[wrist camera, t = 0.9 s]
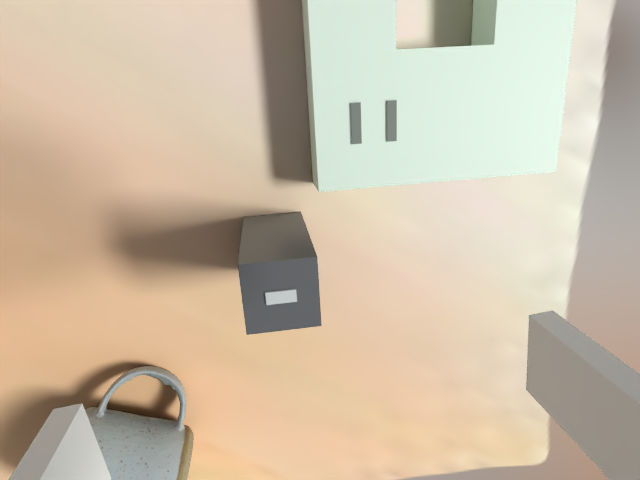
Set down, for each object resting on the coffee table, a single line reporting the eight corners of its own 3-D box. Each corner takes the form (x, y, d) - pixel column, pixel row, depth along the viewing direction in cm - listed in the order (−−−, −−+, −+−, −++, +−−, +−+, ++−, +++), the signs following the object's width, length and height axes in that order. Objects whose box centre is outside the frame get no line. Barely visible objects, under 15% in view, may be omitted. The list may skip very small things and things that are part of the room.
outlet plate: (313, 182, 30) (318, 192, 27) (295, -94, 25) (300, -119, 22) (529, 164, 32) (556, 172, 29) (556, -97, 26) (592, -121, 24)
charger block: (249, 270, 31) (246, 335, 23) (243, 216, 30) (237, 265, 22) (304, 264, 32) (321, 326, 23) (300, 211, 31) (317, 257, 22)
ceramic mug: (184, 475, 36) (166, 568, 29) (80, 464, 35) (34, 560, 27) (210, 368, 34) (198, 441, 26) (99, 350, 32) (53, 423, 25)
